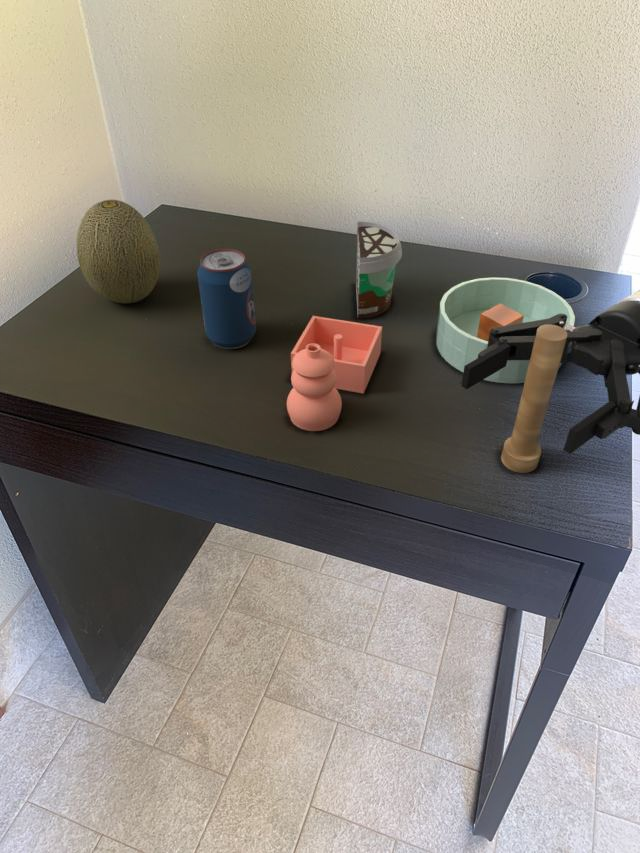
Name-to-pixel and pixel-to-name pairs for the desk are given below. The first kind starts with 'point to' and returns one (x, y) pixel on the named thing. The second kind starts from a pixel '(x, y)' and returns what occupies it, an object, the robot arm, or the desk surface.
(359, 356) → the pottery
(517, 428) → the pestle
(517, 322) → the block
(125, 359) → the desk surface
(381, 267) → the food container
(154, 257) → the fruit
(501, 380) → the bowl
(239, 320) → the soda can
